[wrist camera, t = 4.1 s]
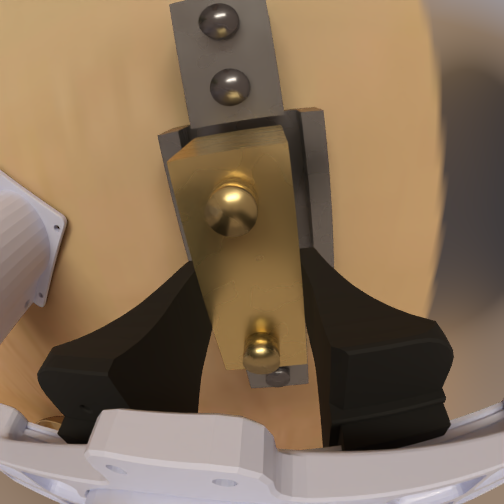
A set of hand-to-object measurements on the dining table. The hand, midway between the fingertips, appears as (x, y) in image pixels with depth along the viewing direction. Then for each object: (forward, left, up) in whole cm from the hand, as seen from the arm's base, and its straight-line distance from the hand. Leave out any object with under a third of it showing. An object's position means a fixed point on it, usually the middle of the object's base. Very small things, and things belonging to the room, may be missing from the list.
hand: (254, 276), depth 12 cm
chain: (0, 0, -6) cm, 6 cm away
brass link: (0, +1, -3) cm, 3 cm away
